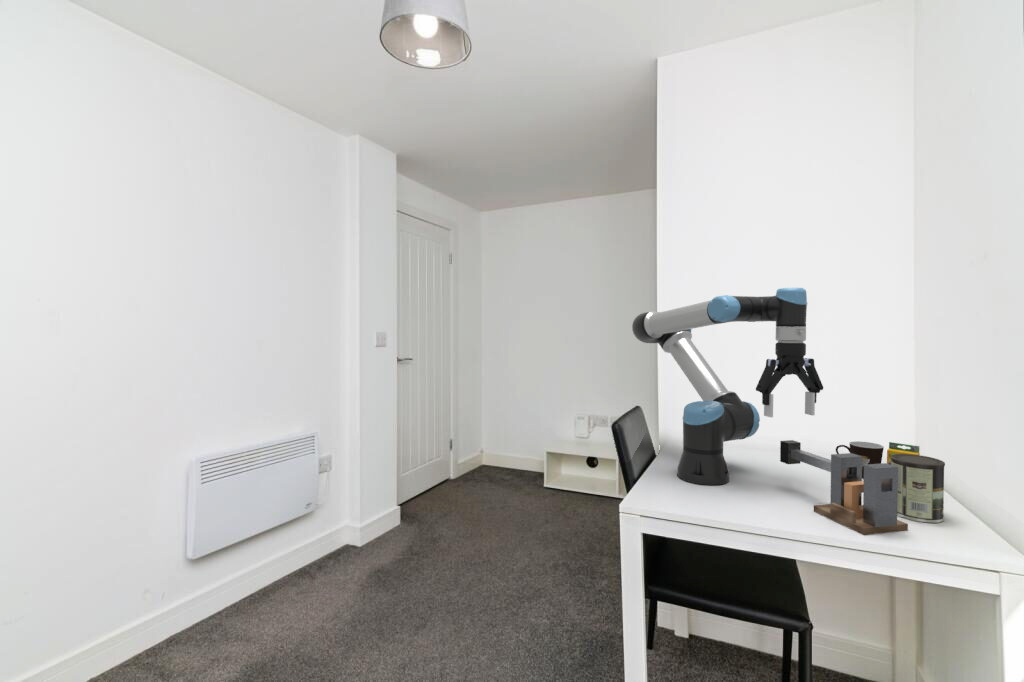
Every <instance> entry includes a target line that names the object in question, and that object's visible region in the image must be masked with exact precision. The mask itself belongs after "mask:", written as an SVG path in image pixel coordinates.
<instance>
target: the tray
mask: <svg viewBox="0 0 1024 682" xmlns="http://www.w3.org/2000/svg"><path fill="white" fill-rule="evenodd" d="M813 512H814V513H816V514H818V515H821V516H823V517H825V518H827V519H829V520H831V521H834V522H835V523H838V524H840V525H842V526H844V527H846V528H848V529H850V530H853V531H854V532H857V533H859V534H861V535H863V536H867V535H875V534H877V535H878V534H886V533H895V532H907V531H909V526H908V525H909V524H908V523H907V522H905V521H901V520H899V519H897V525H893V526H883V527H873V526H871V525H869V524H867V523H864V522H863V517H862V518H856V512H855V511H852V510H850V509H848V508H845V507H843V506H841V505H838V504H836V503H827V504H815V505H813Z"/></svg>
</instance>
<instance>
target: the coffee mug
mask: <svg viewBox="0 0 1024 682" xmlns="http://www.w3.org/2000/svg"><path fill="white" fill-rule="evenodd" d="M848 443H849V446H847V445H844V444H839V445H838V446H836V448H835V454H840V453H839V450H838V449H840V448H845V449H847V450H848V453H853V454H856V455H859V456H862V480H864V465H867V464H881V463H882V461H883V456H884V455H883V454H884V447H885V446H884V445H882V444H879V443H874V442H869V441H860V440H859V441H856V440H855V441H854V440H853V441H850V442H848Z"/></svg>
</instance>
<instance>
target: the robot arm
mask: <svg viewBox="0 0 1024 682" xmlns="http://www.w3.org/2000/svg"><path fill="white" fill-rule="evenodd" d="M807 308H808V299H807V291H806V289H805V288H804V287H784V288H783V287H782V288H778V289H777V290H776V293H775V295H773V296H769V295H768V296H745V295H744V296H743V295H742V296H741V295H740V296H738V295H727V294H725V295H718V296H715V297H713V298H712V299H710V300H707V301H703V302H699V303H694V304H690V305H686V306H681V307H677V308H673V309H669V310H665V311H661V312H658V311H654V310H653V311H646V312H642V313H640V314H638V315H637V316H635V318H634V319H633V321H632V325H631V326H632V327H631V329H632V332H633V335H634V336H635V338H636V339H637V340H638V341H640V342H642V343H645V344H658V345H659V346H660V348H661V349H662V350H663V352H664V353H666V354H667V353H668V354H670V355H671V356H672V357H673V360H674V361H675V362H676V364H677V365H678V366H679V367H680V369H681V371H682V372H683V374H684V375H685V377H686V378H687V380H688V381H689V383H690V384H691V386H692V387H693V388H694V390H695V391H696V393H697V395H698V396H699V397H700V399H701V400H699V401H692V402H690V403H687V404H686V405H685V406H684V408H683V414H682V444H683V446H682V454H681V457H680V459H679V462H678V465H677V467H676V468H677V469H676V471H677V475H676V476H677V477H678V478H679V479H681V480H683V481H686V482H687V483H692V484H697V485H704V486H718V485H719V486H720V485H724V484H727V483H729V481H730V471H729V469H728V466H727V462H726V460H725V456H724V442H730V441H735V440H736V441H738V440H745V439H747V438H750V437H752V436H754V435H755V434H756V433H757V432H758V430H759V427H760V422H761V420H760V419H761V418H760V413H759V411H758V409H757V408H756V407H755V405H753V404H752V403H751V402H747V401H745V400H744V401H743V400H741V398H740V396H739V395H738V394H737V393H736V392H735V391H730V390H728V388H726V386H725V385H724V383H723V382H722V380H721V379H720V378H719V376H718V375H717V374H716V372H715V371H714V370H713V368H712V366H710V364H709V363H708V361H707V360H706V358H705V357H704V356H703V354H702V353H701V352H700V351H699V349H698V348H697V346H696V344H694V342H693V340H692V339H693V334H692V330H693V329H697V328H698V329H699V328H703V327H707V326H714V325H718V324H725V323H732V322H735V323H736V322H748V323H750V322H751V323H755V322H775V340H776V341H777V342H776V343H775V349H774V350H775V354H774V355H776V359H774V358H767V359H766V361H765V367H764V369H763V371H762V373H761V376H760V379H759V380H758V382H757V385H756V387H755V391H756V392H760V394H762V395H761V398H762V399H761V403H762V405H763V416H764V417H768V418H774V394H773V393H772V392H773V391H774V390H775V388H776V387H777V385H778V384H779V383H780V381H781V380H782V379H783V377H785V376H786V375H787V376H790V375H796V376H797V377H798V379H799V380H800V382H801V384H803V386H804V387H805V388H806V390H807V391H805V392H804V393H805V394H804V414H805V415H809V416H815V415H816V414H815V411H816V410H815V409H816V407H815V404H816V403H817V395H818V394H819V393H820V392H821V391H823V390H824V386H823V383H822V381H821V379H820V375H819V374H818V371H817V369H816V367H815V366H816V365H815V359H814V358H810V357H807V358H806V357H805V356H806V354H807V352H806V351H807V344H806V343H805V342H806V340H807V311H808V310H807ZM804 357H805V358H804Z"/></svg>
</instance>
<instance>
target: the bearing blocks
mask: <svg viewBox="0 0 1024 682" xmlns="http://www.w3.org/2000/svg"><path fill="white" fill-rule="evenodd" d="M830 460H831V472H830V503H836V504H838V505H841V506H843V507H844V483H847V482H857V481H864V493H859V506H860V505H863V522H864V523H867V524H869V525H871V526H873V527H883V526H893V525H897V520H898V515H897V500H898V467H897V466H893V465H890V464H887V462H883V463H882V462H881V464H867V465H864V479H862V456H859V455H856V454H853V453H850V452H847V453H839V454H837V453H835V454H833V453H832V454H830ZM847 467H849V475H846V473H847ZM862 494H863V499H862ZM862 500H863V504H862ZM830 503H829V504H830Z"/></svg>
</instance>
